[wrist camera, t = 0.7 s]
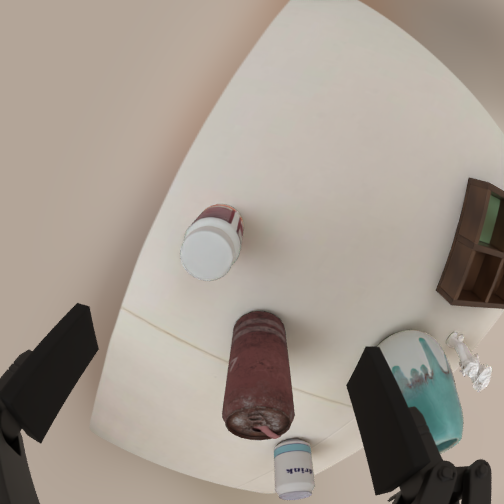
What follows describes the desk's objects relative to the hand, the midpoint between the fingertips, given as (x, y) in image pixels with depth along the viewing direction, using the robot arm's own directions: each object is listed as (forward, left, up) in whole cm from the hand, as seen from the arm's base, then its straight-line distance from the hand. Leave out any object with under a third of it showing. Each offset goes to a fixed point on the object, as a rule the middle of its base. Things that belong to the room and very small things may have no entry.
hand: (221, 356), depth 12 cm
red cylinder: (+11, +4, -18) cm, 21 cm away
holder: (-5, +34, -18) cm, 38 cm away
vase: (+13, +24, -18) cm, 32 cm away
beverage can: (+39, +15, -18) cm, 46 cm away
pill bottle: (-1, -2, -18) cm, 18 cm away
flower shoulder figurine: (+11, +36, -18) cm, 41 cm away
